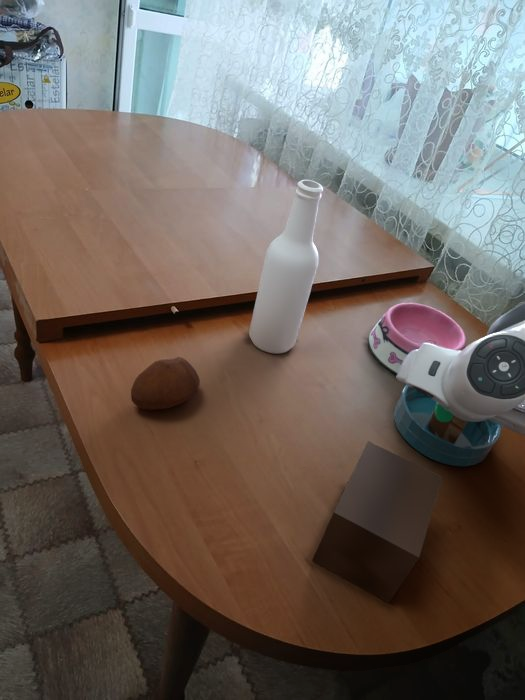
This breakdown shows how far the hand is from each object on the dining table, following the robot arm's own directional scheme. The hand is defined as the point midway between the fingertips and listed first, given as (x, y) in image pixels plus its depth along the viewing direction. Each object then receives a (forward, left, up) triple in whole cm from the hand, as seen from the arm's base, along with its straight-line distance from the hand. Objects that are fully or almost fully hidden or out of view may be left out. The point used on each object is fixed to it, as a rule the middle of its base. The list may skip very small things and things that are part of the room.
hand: (457, 400), depth 86 cm
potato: (+39, +22, -7) cm, 46 cm away
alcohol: (+33, -3, -7) cm, 34 cm away
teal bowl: (0, 0, -6) cm, 7 cm away
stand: (+5, +28, -6) cm, 29 cm away
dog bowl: (+9, -18, -7) cm, 21 cm away
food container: (+1, +1, -6) cm, 6 cm away
